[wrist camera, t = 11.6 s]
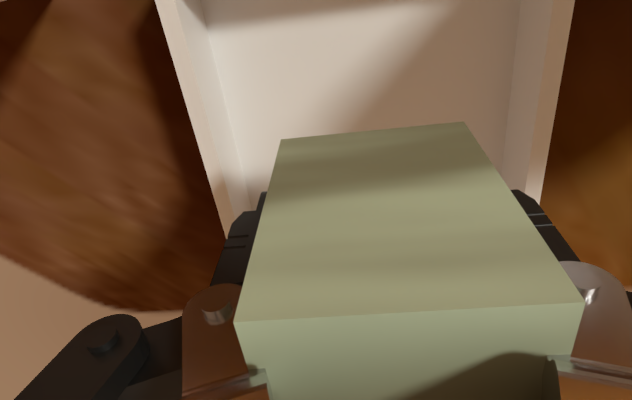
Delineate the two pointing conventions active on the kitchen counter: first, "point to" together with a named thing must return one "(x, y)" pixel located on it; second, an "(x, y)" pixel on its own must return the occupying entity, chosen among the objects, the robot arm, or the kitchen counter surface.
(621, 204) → the kitchen counter surface
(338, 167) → the sage block
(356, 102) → the tray
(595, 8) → the kitchen counter surface
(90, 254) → the kitchen counter surface
